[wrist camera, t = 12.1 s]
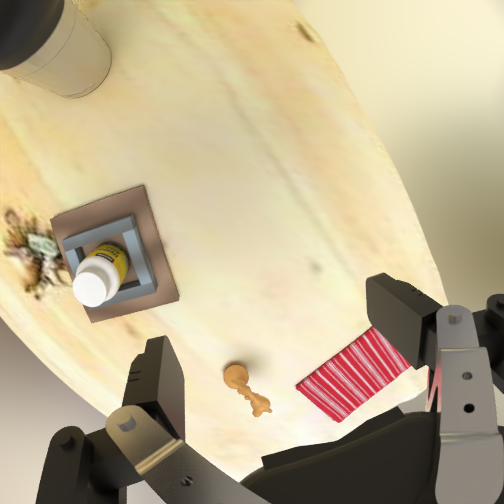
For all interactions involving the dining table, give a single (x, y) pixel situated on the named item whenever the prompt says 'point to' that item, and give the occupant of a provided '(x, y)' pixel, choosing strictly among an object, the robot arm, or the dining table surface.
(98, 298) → the supplement bottle
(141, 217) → the cradle board
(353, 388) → the dish towel
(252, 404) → the figurine
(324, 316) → the dining table surface
